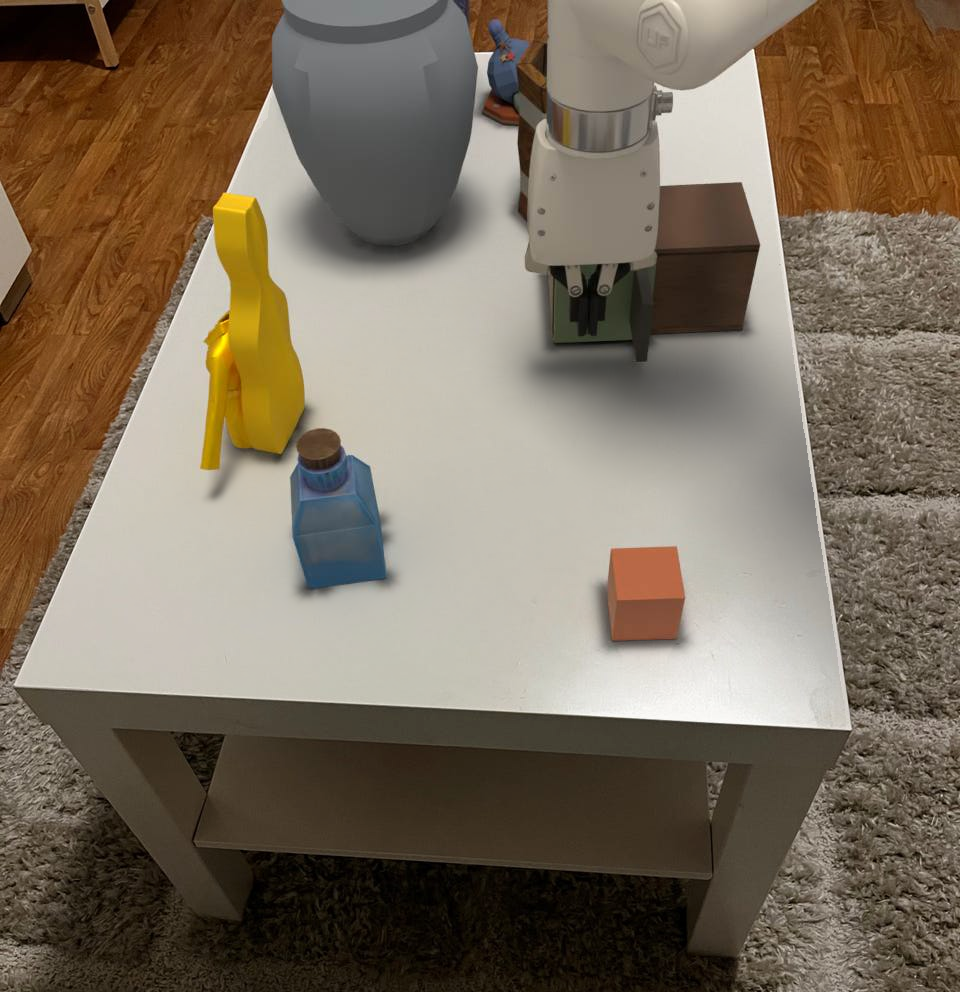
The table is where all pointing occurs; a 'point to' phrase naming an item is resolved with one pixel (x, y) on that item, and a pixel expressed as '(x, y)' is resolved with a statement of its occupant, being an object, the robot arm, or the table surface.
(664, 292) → the cabinet
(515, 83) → the model
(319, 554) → the perfume bottle
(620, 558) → the block
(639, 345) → the door
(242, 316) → the figure statuette
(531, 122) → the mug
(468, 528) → the table surface
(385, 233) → the vase
